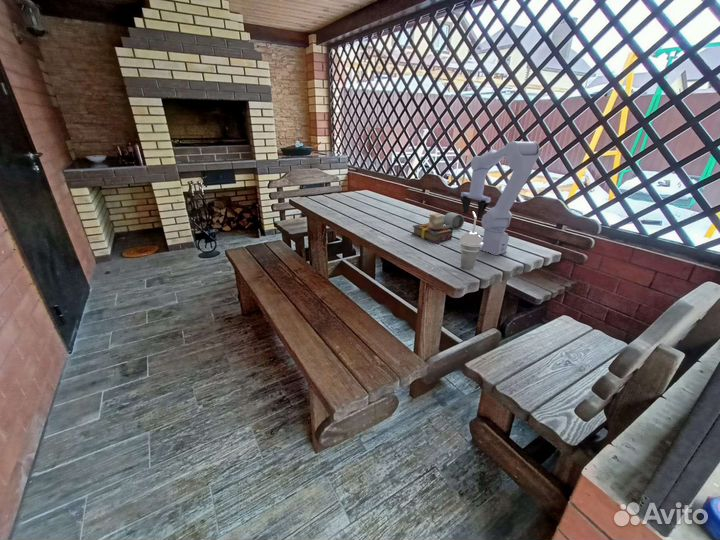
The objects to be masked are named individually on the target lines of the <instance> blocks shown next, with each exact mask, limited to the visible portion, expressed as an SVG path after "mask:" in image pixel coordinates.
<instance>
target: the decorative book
mask: <svg viewBox="0 0 720 540" xmlns="http://www.w3.org/2000/svg"><path fill="white" fill-rule="evenodd" d="M412 228H413V232H411V234H412V235H413V234H414V236H416V237H419V238H421V239H422V238H423V240H427V241H428V242H430V243H432V244H439V243H441V242H443V241H448V240H452V238H453V230H451V229H449V228H445V227H444V228H441V229H436V230H435V229H432V228H430V227H429V222H428V223H422V224H416V225H412Z"/></svg>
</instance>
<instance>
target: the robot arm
mask: <svg viewBox="0 0 720 540" xmlns="http://www.w3.org/2000/svg"><path fill="white" fill-rule="evenodd" d="M540 155H541V150H540V144H539V143H538V142H537V141H534V140H532V141H510V142H508V143H506V144H505V146H503V147H501V148H499V149H498V150H496V149H488V151H487V152H486V153H482V154H481V155H474V156H473V157H472V159H471V161H470V168H471V169H472V172H471V180H470V187H469V192H466V191H461V193H460V201H461V204H462V208H463V214H464V215H465V214H466V215H467V214H469V210H470V206H471V202H472V200H475V201H478V202H477V215H476V217H477V218H481V221H480V223H481V227H482V229H484V231H483V237H482V241H483V242H484V243H483V244H484V245H483V246H481V248H480V250H479V251H482V250H483V252H485V251H486V252H485V253H488V252H489V253H488V254H490V253H491V255H494V256H498V255H501V254H504V253H507V252H508V250H507V248H508V243H509V239H510V237H509V234H508V233H507V232H505V231H506V229H507V228H508V227H509V226H510V223H511V220H512V217H513V214H512V212H511V211H510V210H511V209H512V207H513V206H514V203H515V201H516V200H517V198H518V196H519V194H520V193H521V191H522V189H523V187H524V186H525V184H526V183H527V181H528V179H529V177H530V175H531V174H532V170H533V167H534V166H535V164H536V162H537V161H538V158H539V157H540ZM504 158H506V160H507V164H508V166H509V168H510V169H511V170H512V173H511V176H510V177H509V179H508V180H507V183H506V185H505V187H504V188H503V191H502V192H501V195H500V196H499V198H498V200H497V202H496V204H495V206H492V207H491V208H489V209H488V210H487V211H486V213H485V210H486V209H487V208H488V206H489V205H490V203H491V202H492V199H491V198H492V197H489V196H486V195H484V190H485V189H484V188H485V182H486V177H487V175H488V173H489V170H490V168H491V167H494V166H495V165H498V164H499V163H500V161H501V160H502V159H504ZM484 213H485V214H484Z"/></svg>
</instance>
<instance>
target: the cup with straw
mask: <svg viewBox="0 0 720 540" xmlns="http://www.w3.org/2000/svg"><path fill="white" fill-rule="evenodd" d="M471 213H472V216H473V219H474V221H473V225H472V226H473V227H472V231H471V230H470V231H466V232H465V233H464V234H463V235H462V237H461V238H459V240H458V243H459V244H460V268H461V269H462V270H464V271H472V270H471V269H473V270H474V267H475V265H476V261H477V258H478V255H479V253H480V251H481V250H480V248H481V246H483V245H484V244H483V243H484V242H483V237H481V234H480V233H478V232H476V230H475V229H476V225H477V218H478V217H477V215H476V213H475V211H472V212H471Z"/></svg>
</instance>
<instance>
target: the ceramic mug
mask: <svg viewBox="0 0 720 540" xmlns="http://www.w3.org/2000/svg"><path fill="white" fill-rule="evenodd" d="M464 223H465V217H464V216H463V215H462V214H459V213H457V212H447V213H446V214H445V215H444V221H443V228H444V227H445V228H448V229H449V228H451V229H452V230H460V229H461V228H462V227H463V225H464Z"/></svg>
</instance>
